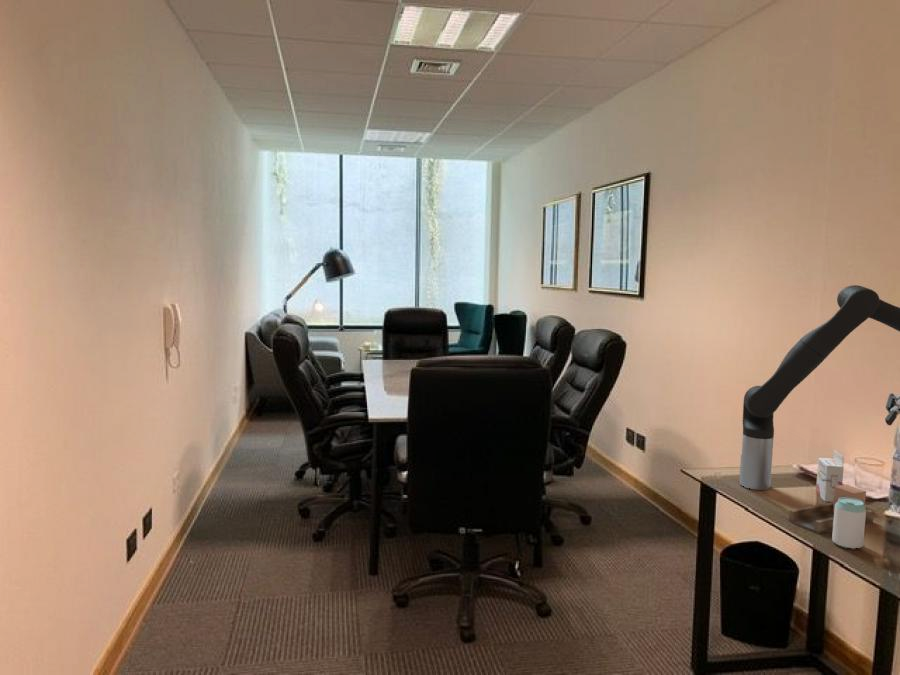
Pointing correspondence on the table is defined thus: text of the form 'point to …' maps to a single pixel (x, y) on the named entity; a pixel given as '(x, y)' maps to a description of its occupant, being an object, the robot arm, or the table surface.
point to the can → (849, 523)
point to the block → (848, 493)
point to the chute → (819, 517)
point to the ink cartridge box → (829, 476)
